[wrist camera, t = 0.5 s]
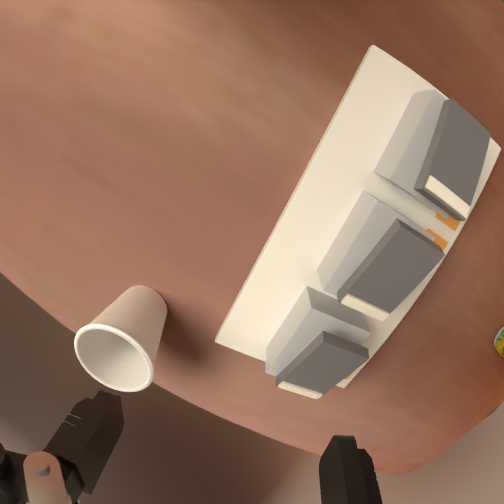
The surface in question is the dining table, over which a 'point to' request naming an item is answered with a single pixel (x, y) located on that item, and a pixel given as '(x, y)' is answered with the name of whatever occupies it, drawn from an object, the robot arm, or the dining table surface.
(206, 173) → the dining table surface
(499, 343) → the supplement bottle
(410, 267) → the rocker
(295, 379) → the rocker
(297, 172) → the dining table surface
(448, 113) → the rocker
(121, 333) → the dixie cup
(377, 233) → the switch unit
